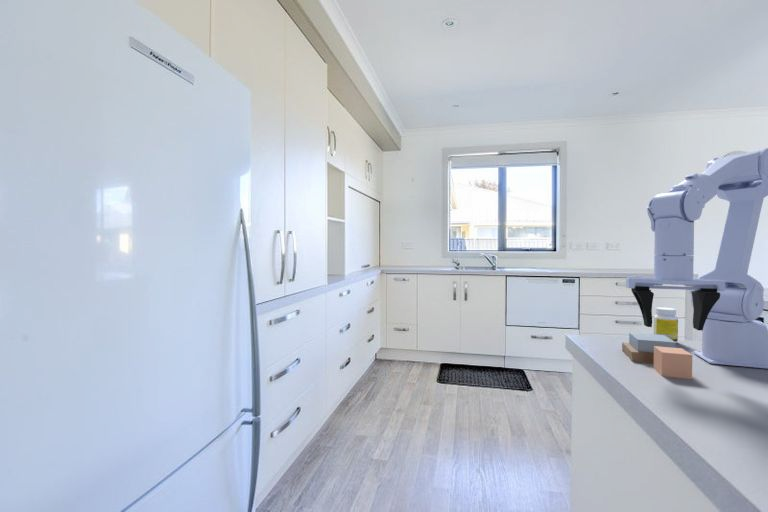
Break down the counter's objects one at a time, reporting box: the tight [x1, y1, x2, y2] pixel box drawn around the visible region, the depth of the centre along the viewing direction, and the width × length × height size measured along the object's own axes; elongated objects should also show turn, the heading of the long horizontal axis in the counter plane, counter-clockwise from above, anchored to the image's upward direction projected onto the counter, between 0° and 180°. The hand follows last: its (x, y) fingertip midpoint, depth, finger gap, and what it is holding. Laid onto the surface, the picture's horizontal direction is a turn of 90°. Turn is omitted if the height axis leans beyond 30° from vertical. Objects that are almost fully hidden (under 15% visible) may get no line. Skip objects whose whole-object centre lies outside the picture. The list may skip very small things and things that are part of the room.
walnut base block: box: [621, 341, 654, 364], centre depth 76 cm, size 8×8×2 cm
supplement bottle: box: [653, 306, 679, 344], centre depth 89 cm, size 5×5×8 cm
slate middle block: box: [628, 332, 677, 353], centre depth 76 cm, size 6×6×2 cm
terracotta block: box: [653, 346, 693, 380], centre depth 67 cm, size 4×4×4 cm
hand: (672, 327), depth 67 cm, fingers open, 7 cm apart
